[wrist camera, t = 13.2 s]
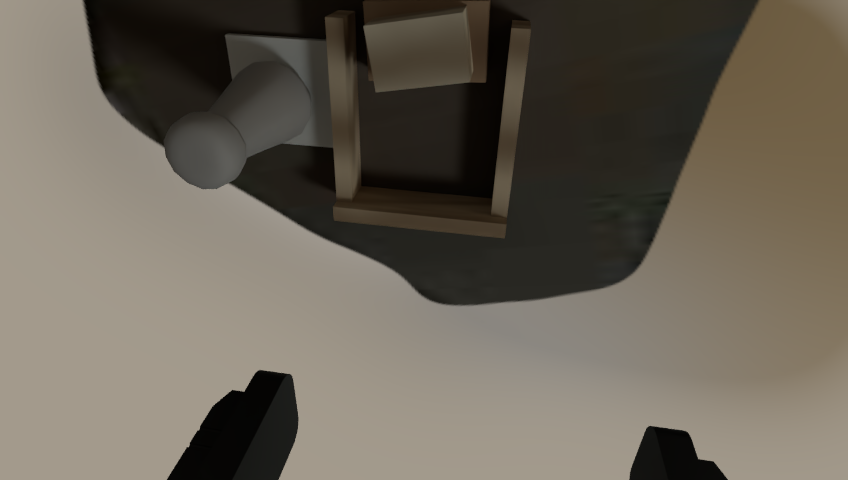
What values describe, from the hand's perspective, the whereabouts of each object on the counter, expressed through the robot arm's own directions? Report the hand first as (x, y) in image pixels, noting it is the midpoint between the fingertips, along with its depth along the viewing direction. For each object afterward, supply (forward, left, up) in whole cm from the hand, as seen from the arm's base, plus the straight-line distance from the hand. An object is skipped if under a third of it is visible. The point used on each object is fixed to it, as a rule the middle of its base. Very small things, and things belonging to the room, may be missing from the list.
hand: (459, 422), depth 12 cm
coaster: (+2, -16, -30) cm, 34 cm away
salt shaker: (+2, -16, -30) cm, 34 cm away
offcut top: (-3, -5, -28) cm, 28 cm away
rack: (+3, -5, -30) cm, 31 cm away
